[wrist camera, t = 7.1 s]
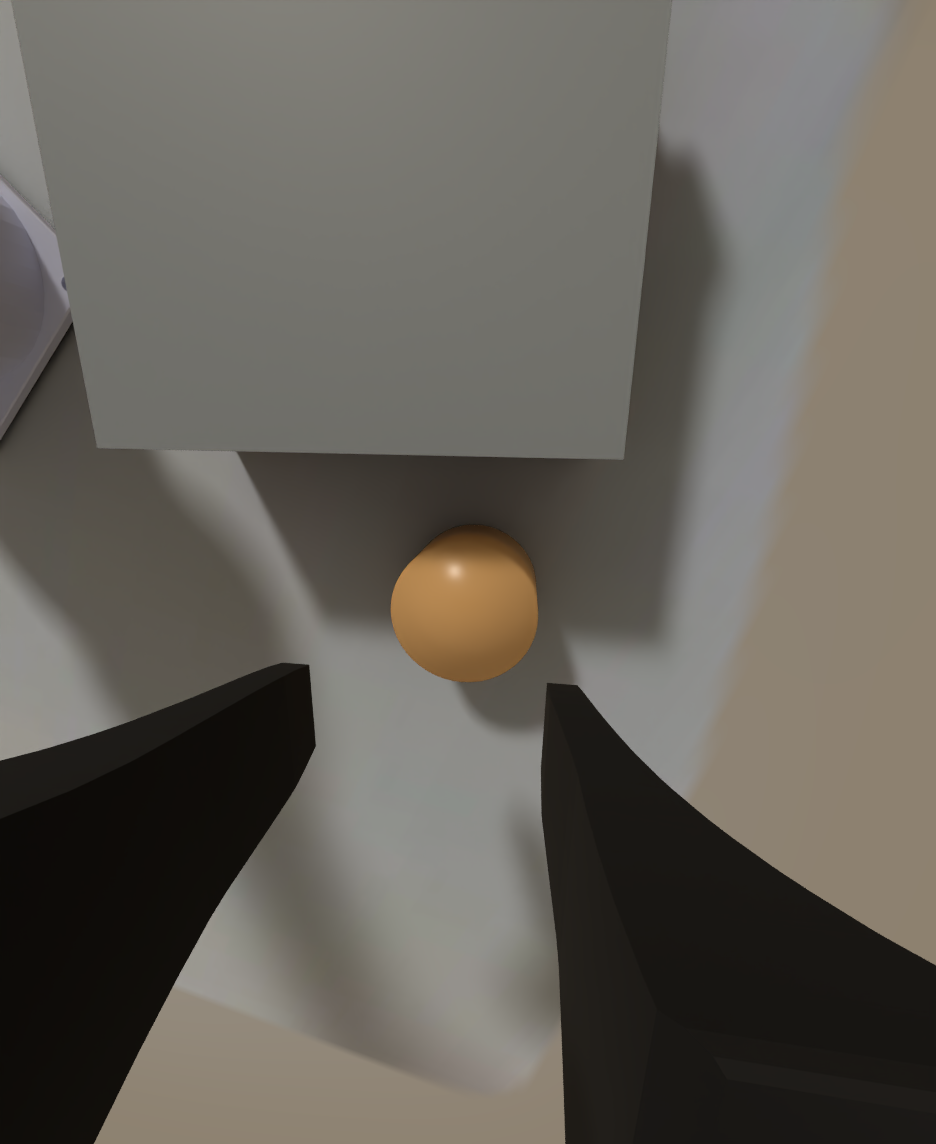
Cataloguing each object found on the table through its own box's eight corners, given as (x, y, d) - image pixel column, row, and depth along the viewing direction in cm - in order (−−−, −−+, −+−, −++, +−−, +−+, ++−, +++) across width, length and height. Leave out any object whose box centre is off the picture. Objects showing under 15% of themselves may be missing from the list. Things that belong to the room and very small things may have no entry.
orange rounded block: (472, 663, 20) (461, 708, 17) (390, 580, 19) (361, 609, 16) (562, 589, 19) (570, 621, 15) (476, 497, 18) (464, 510, 15)
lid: (616, 456, 14) (636, 460, 11) (159, 447, 15) (87, 448, 13) (680, -174, 10) (731, -380, 7) (74, -96, 12) (-50, -244, 9)
